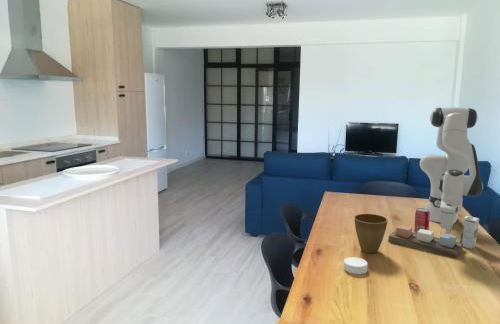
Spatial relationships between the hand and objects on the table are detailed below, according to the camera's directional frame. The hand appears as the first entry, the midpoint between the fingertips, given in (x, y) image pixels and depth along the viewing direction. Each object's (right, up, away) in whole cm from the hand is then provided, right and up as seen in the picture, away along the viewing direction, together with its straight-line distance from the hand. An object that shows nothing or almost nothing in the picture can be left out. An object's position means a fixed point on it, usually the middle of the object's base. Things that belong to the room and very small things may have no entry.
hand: (448, 232), depth 179 cm
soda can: (-2, -5, +25) cm, 25 cm away
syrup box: (+13, -8, +7) cm, 17 cm away
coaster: (-49, -12, -18) cm, 54 cm away
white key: (-8, -5, +7) cm, 12 cm away
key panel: (-8, -8, +8) cm, 13 cm away
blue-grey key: (0, -6, +1) cm, 6 cm away
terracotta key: (-16, -3, +13) cm, 21 cm away
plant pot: (-37, -9, +1) cm, 38 cm away
